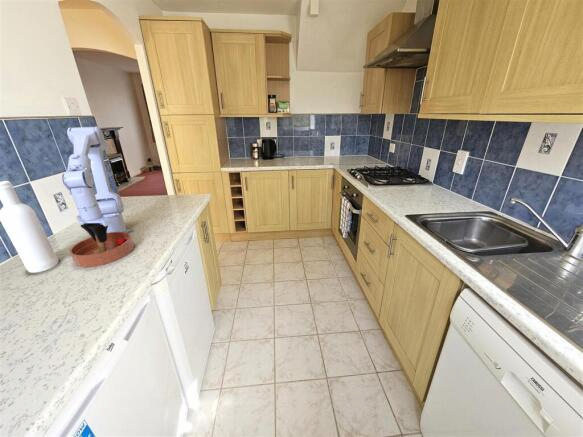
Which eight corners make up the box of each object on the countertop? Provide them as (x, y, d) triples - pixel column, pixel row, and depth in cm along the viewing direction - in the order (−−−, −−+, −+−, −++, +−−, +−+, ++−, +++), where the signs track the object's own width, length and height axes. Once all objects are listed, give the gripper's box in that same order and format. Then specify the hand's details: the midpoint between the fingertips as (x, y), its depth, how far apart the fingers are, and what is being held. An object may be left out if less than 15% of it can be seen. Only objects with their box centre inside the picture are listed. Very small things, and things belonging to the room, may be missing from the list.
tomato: (112, 241, 94) (118, 236, 96) (117, 246, 96) (123, 241, 98) (117, 241, 93) (123, 235, 95) (122, 246, 94) (128, 241, 97)
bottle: (30, 266, 84) (-15, 182, 72) (60, 258, 89) (22, 177, 77) (26, 277, 78) (-24, 187, 67) (58, 268, 83) (16, 182, 71)
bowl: (62, 263, 85) (56, 251, 83) (112, 239, 101) (109, 229, 99) (97, 273, 80) (92, 260, 78) (145, 246, 95) (141, 235, 93)
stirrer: (90, 254, 88) (84, 234, 85) (105, 248, 93) (100, 229, 90) (101, 257, 86) (95, 236, 84) (116, 250, 91) (111, 231, 89)
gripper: (60, 207, 82) (75, 243, 87) (89, 212, 77) (103, 249, 82) (83, 201, 88) (96, 234, 93) (111, 204, 83) (123, 239, 88)
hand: (101, 240), depth 88 cm, fingers closed on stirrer, 2 cm apart
